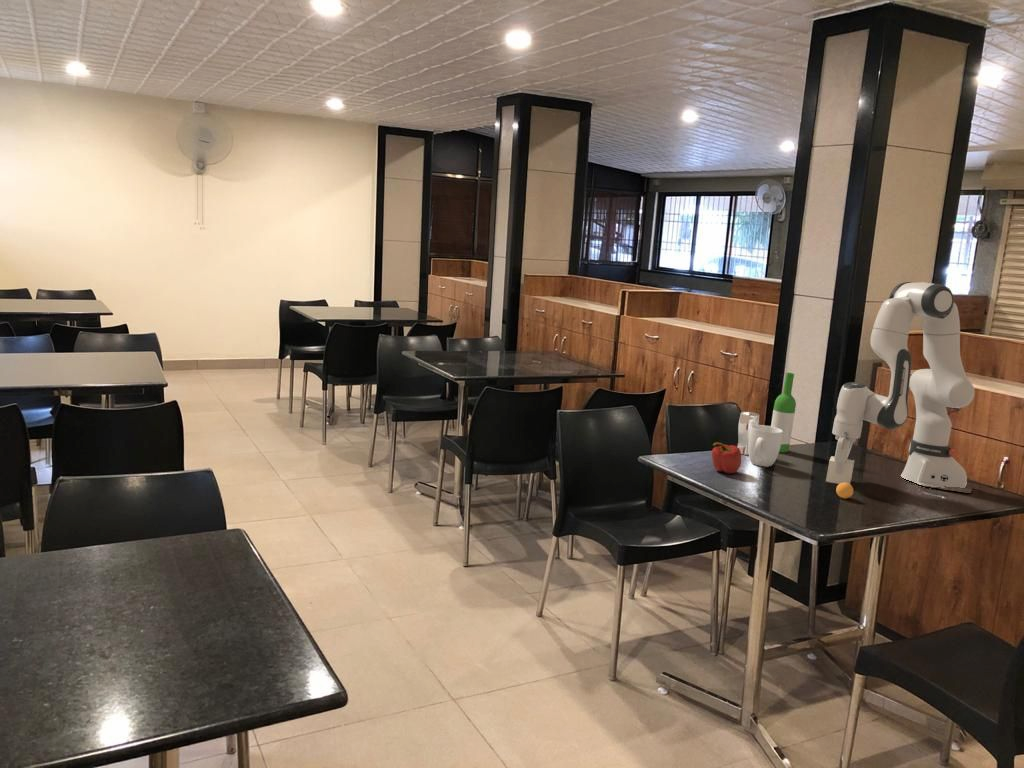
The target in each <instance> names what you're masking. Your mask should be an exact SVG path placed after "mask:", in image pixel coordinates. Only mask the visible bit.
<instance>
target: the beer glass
mask: <svg viewBox="0 0 1024 768" xmlns="http://www.w3.org/2000/svg"><path fill="white" fill-rule="evenodd" d="M739 415H740V416H739V420H738V427H737V429H738V430H737V435H738V438H737V439H738V442H737V445H736V446H737V447H738V448H739V449H740V452H741V455H742V454H744V455H743V456H749V452H748V442H749V434H750V428H751V426H752V425H760V424H759V421H760V414H758V413H755V412H750V411H741V412H740V414H739Z"/></svg>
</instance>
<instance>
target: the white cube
mask: <svg viewBox="0 0 1024 768" xmlns="http://www.w3.org/2000/svg"><path fill="white" fill-rule="evenodd" d="M834 458H835V456H832V455H831V456H830V458H829V461H828V467H827V473H826V479H825V482H826V483H831V484H836V485H839V484H840V483H843V482H846V483H849V484H850V485H851V482H852V476H853V471H854V465H855V460H854V459H848V458H847V461H846V463H844V464H843V468H842V473H841V474H837V473H836V466H837V462H835V461H834Z"/></svg>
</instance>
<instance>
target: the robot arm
mask: <svg viewBox="0 0 1024 768" xmlns="http://www.w3.org/2000/svg"><path fill="white" fill-rule="evenodd" d="M954 299H955V298H954V294H953V292H952V290H951V289H950V288H949V287H947V286H945V285H943V284H940V283H932V282H926V281H921V282H916V281H915V282H912V281H905V282H901V283H898V284H897V285H895V287H893V289H892V290H891V292H890V295H889V297H888V299H885V300H884V301H883V302H882V304H881V306H880V307H879V310H878V312H877V314H876V318H875V320H874V323H873V327H872V330H871V334H870V338H869V339H870V348H871V350H873V352H874V354H876V356H877V357H879V358H880V359H881V360H883V361H884V362H885V363H886V364H887V365H888V366H889V369H890V373H891V377H890V383H889V392H888V396H885V395H880V394H878V393H875V392H873V391H872V390H870V389H869V388H868V386H867V384H866V383H863V382H858V381H855V382H854V381H852V382H851V381H850V382H845V383H844V384H843V385H842V386H841V388H840V391H839V394H838V397H837V403H836V415H835V416H834V421H833V426H832V432H831V433H832V434H833V435H834V436H835V440H837V443H836V449H835V453H834V454H835V455H834V457H835V458H834V461H835V462H837V466H836V473H837V474H841V473H842V468H843V464H844V463H846V461H847V459H848V458H849V455H850V452H851V450H852V448H853V443H856V439H860V438H861V434H862V429H863V423H864V422H863V421H867V422H869V423H871V424H875V425H878V426H880V427H883V428H885V429H887V430H889V431H890V430H891V431H893V430H896V429H898V428H900V427H902V426H904V424H905V423H906V421H907V420H908V416H909V408H908V407H909V405H908V402H909V401H908V398H909V389H910V391H911V393H912V395H913V398H914V404H915V414H916V415H915V425H914V429H913V435H912V436H913V437H912V438H911V440H910V443H909V448H908V458H907V461H906V463H905V466H904V469H903V470H902V473H901V474H900V476H901V477H902V478H904V479H906V480H909V481H912V482H914V483H917V484H919V485H923V486H931V487H941V488H945V487H944V486H946V487H960V488H965V487H966V485H967V483H968V482H967V481H968V477H967V472H966V470H965V468H964V467H963V466H962V465H961V464H960V463H959V462H958V461H957V460H956V459H955V458H954V457H953V456H955V455H956V450H955V449H954V447H952V446H950V445H949V441H950V436H951V431H952V427H953V426H952V420H951V419H950V417H949V415H948V411H947V408H953V409H954V408H955V409H962V408H965V407H967V406H969V405H970V404H971V403H972V402H973V400H974V397H975V395H976V394H975V392H976V391H975V387H974V385H973V383H972V382H971V381H970V380H969V378H968V377H967V375H966V371H965V368H964V366H963V361H962V358H961V323H960V322H961V321H960V316H959V315H960V314H959V309H958V305H957V304H956V303H955V302H954V301H955V300H954ZM916 316H921V317H922V318H923V329H922V330H923V331H922V332H923V334H922V335H923V336H922V338H923V339H922V340H923V341H922V355H923V357H924V359H925V360H926V361H927V364H928V365H929V368H920V369H918V370H915V371H914V372H913V373H912V374H911V371H912V355H911V353H910V352H909V348H908V339H909V334H910V330H911V324H912V321H913V320H914V319H915V317H916ZM901 477H900V478H901ZM902 478H901V479H902ZM904 479H903V480H904ZM906 480H905V481H906ZM909 481H908V482H909ZM914 483H913V484H914Z"/></svg>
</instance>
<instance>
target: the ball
mask: <svg viewBox="0 0 1024 768" xmlns="http://www.w3.org/2000/svg"><path fill="white" fill-rule="evenodd" d="M835 490H836V491H835V492H836V495H837V496H839V498H842V499H849V498H851V497H852V496H853V494H854V487H853V486H852V484H851V483H850V484H849V483H846V482H843V483H840V484H837V485H836V489H835Z"/></svg>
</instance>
